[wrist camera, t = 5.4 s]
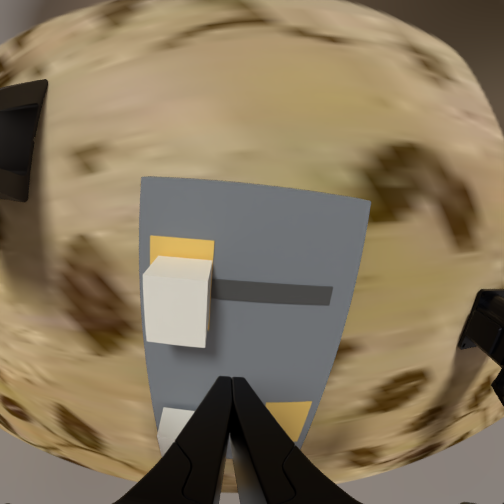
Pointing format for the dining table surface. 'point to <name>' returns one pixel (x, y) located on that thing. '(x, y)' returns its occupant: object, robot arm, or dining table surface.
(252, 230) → the switch panel
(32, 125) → the phone stand
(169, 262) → the slider
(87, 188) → the dining table surface
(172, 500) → the robot arm
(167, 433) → the slider
